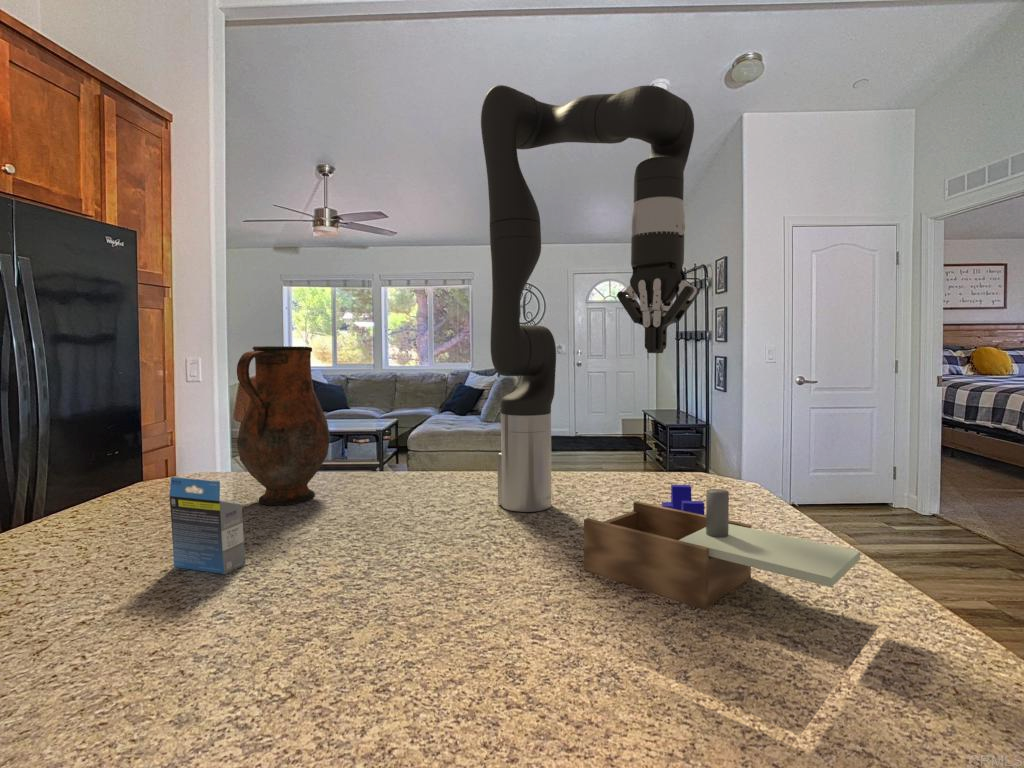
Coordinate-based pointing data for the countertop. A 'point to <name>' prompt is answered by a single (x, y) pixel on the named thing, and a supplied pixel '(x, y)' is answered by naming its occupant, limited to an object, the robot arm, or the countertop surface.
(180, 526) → the label tape box
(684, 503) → the blue curved stepped block
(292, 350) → the pitcher
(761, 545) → the cover plate
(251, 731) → the countertop surface
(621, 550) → the walnut box
